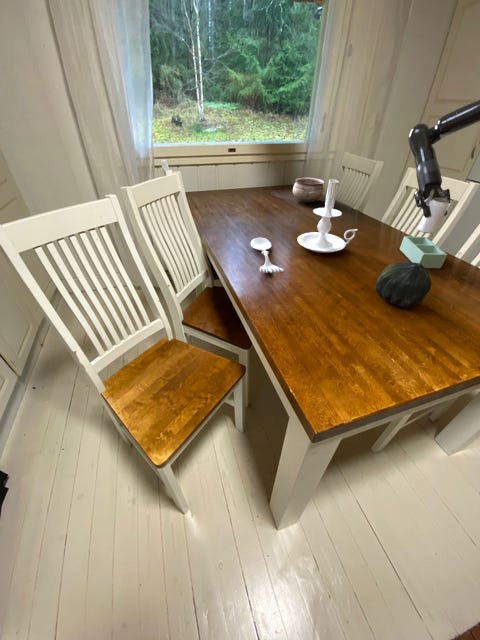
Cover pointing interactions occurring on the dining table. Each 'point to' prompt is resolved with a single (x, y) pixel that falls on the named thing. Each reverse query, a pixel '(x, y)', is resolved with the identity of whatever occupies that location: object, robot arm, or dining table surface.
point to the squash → (403, 284)
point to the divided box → (423, 252)
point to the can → (434, 215)
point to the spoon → (263, 246)
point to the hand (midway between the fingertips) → (436, 216)
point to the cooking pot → (308, 189)
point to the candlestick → (325, 226)
